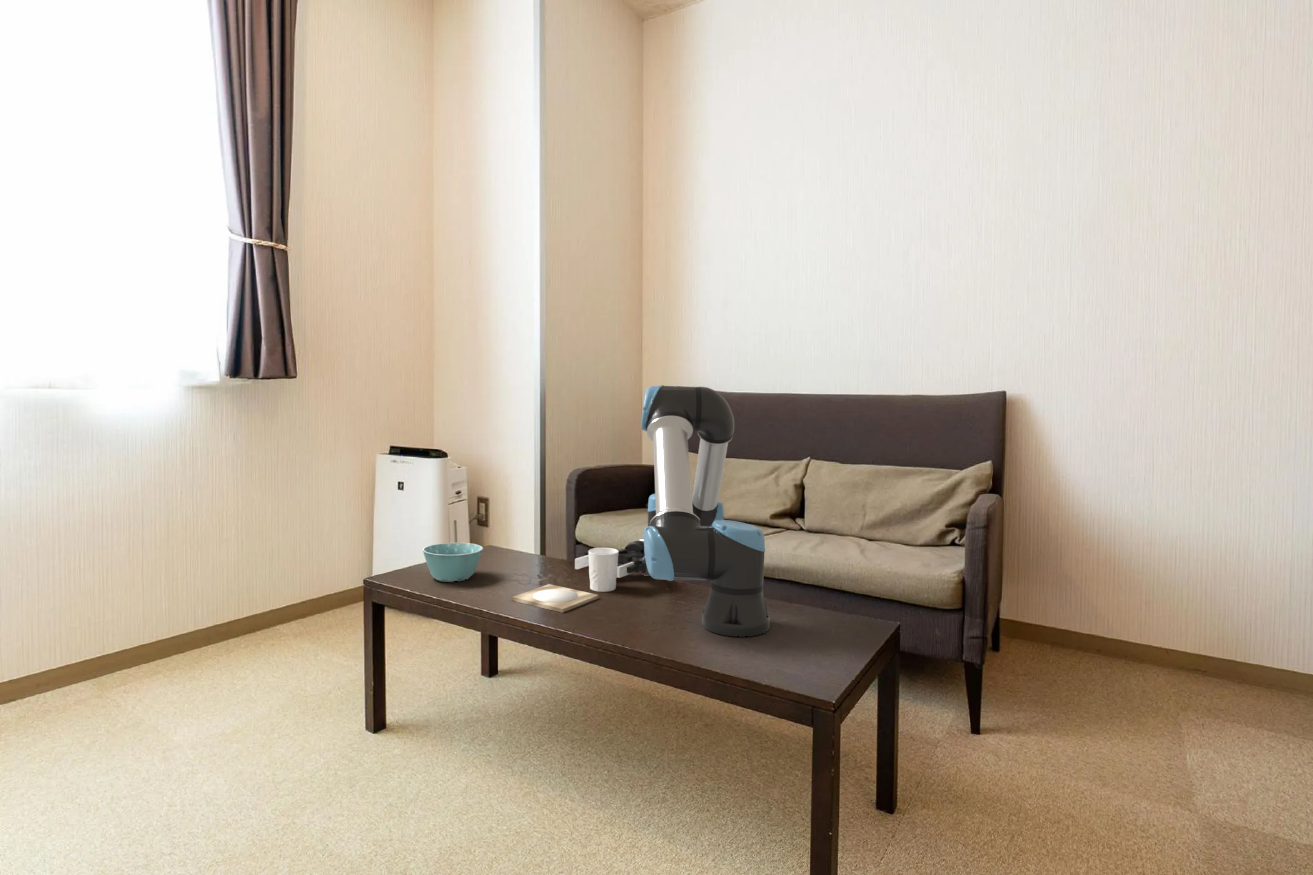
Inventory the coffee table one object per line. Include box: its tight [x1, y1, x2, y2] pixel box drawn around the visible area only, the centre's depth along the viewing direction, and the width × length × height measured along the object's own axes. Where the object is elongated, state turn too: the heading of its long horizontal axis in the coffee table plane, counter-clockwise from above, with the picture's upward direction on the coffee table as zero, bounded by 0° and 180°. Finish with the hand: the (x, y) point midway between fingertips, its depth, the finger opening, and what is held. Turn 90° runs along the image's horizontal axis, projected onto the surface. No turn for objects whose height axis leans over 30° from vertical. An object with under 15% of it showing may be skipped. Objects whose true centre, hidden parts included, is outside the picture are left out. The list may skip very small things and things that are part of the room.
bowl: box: [422, 542, 484, 583], centre depth 193 cm, size 16×16×8 cm
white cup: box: [587, 547, 619, 593], centre depth 186 cm, size 8×8×10 cm
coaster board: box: [511, 583, 599, 613], centre depth 176 cm, size 16×14×1 cm
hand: (596, 568), depth 184 cm, fingers open, 13 cm apart
